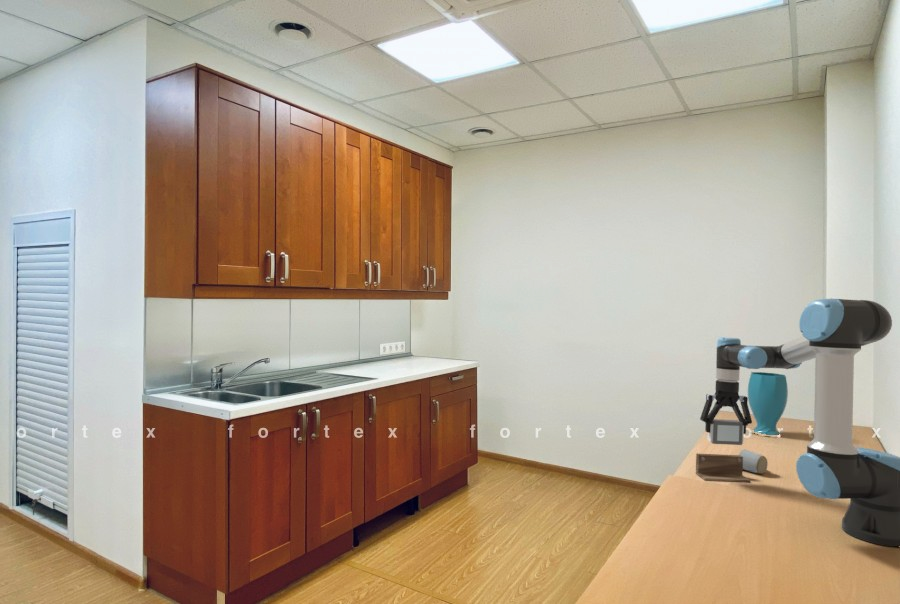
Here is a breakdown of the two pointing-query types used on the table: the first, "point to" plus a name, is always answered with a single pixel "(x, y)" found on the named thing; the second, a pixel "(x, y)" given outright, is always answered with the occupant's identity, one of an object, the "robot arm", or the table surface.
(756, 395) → the vase
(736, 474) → the wall rail
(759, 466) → the ceramic mug
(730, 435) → the grey box
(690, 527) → the table surface
